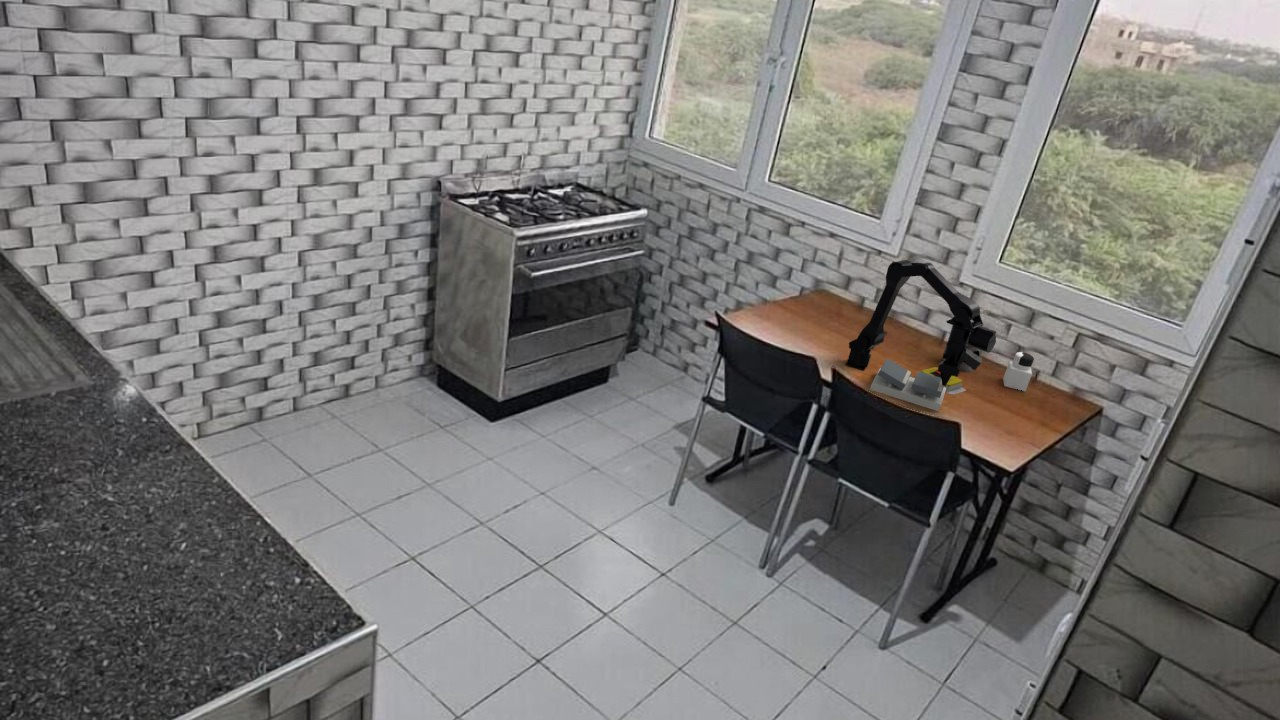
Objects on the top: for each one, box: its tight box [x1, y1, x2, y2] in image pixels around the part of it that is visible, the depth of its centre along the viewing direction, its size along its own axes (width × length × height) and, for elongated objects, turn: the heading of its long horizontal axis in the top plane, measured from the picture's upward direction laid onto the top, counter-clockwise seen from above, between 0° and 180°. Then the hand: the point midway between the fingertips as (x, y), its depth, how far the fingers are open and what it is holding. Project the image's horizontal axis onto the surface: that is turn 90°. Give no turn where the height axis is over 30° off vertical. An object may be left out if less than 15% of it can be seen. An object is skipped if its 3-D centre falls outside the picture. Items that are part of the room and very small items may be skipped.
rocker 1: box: [877, 357, 912, 390], centre depth 273 cm, size 9×12×2 cm
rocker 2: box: [911, 371, 944, 398], centre depth 270 cm, size 9×12×2 cm
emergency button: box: [921, 366, 967, 396], centre depth 285 cm, size 9×4×15 cm
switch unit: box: [869, 367, 946, 412], centre depth 274 cm, size 22×15×4 cm
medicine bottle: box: [1002, 351, 1035, 392], centre depth 292 cm, size 7×7×12 cm
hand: (943, 385), depth 268 cm, fingers closed, pressing on rocker 2
